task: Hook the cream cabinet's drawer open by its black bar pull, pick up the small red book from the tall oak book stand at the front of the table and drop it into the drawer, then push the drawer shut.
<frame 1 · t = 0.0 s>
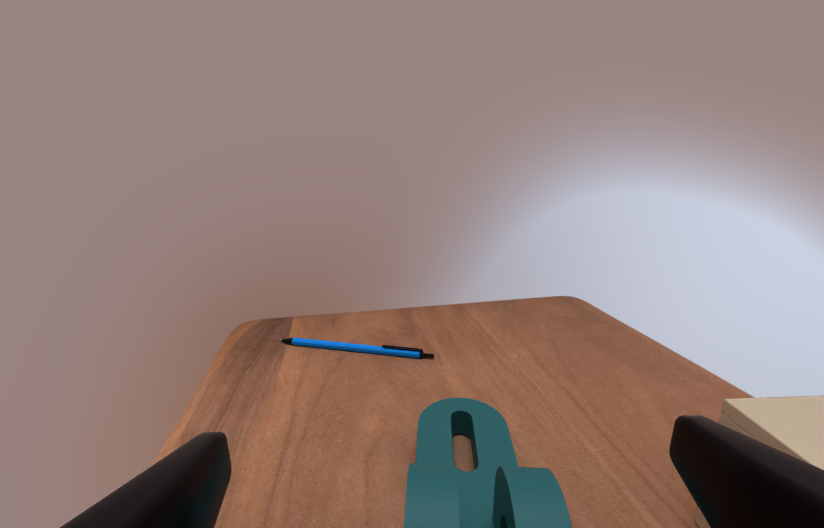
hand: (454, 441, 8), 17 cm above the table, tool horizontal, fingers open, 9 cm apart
bracket: (467, 517, 24), on the table
pen: (353, 352, 45), on the table
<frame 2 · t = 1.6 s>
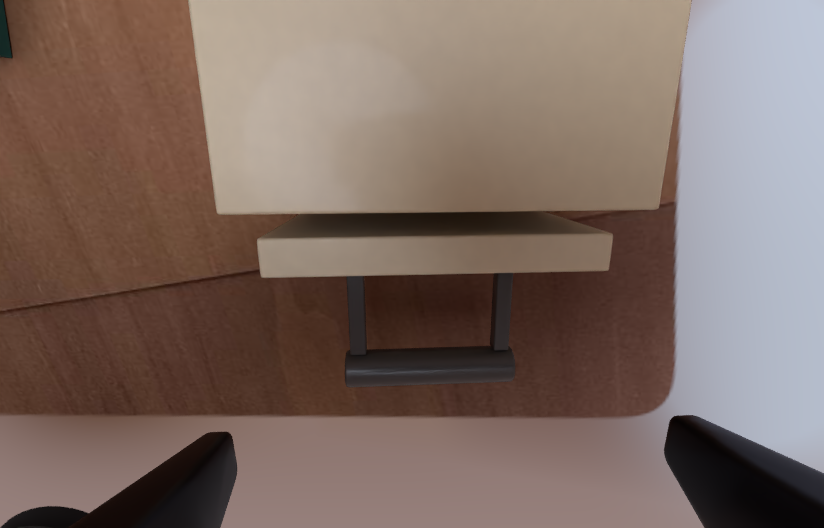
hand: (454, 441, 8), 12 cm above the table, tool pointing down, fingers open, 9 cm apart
cabinet: (419, 30, 17), on the table
drawer: (428, 150, 14), point 4 cm above the table, slide at 0.8 cm
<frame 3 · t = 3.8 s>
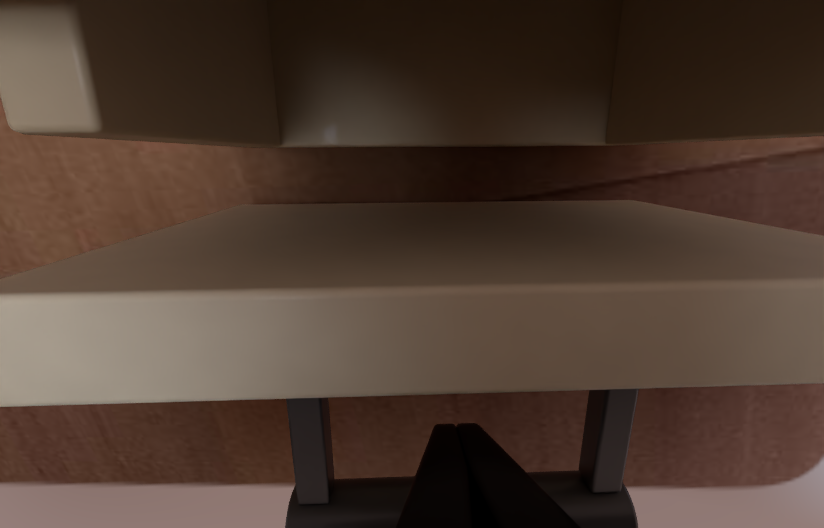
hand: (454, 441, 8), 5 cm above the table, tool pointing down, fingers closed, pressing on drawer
drawer: (463, 72, 6), point 4 cm above the table, slide at 2.3 cm, touching gripper
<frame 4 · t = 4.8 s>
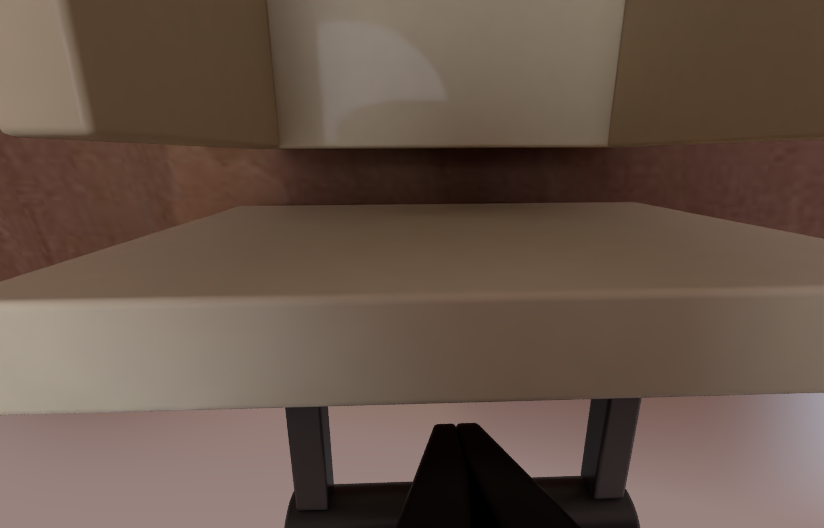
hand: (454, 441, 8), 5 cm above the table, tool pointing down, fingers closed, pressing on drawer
drawer: (464, 73, 6), point 4 cm above the table, slide at 7.3 cm, touching gripper
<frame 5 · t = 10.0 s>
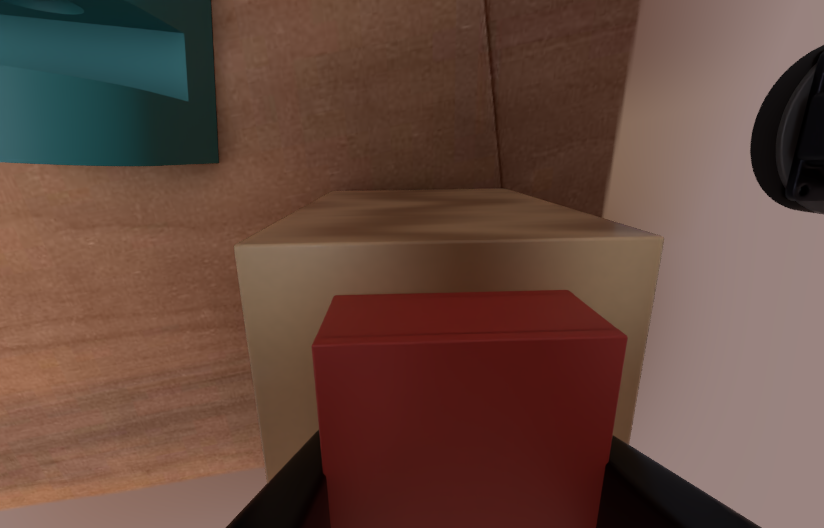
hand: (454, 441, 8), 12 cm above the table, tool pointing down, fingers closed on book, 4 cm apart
book: (449, 425, 8), point 11 cm above the table, touching gripper, stand
stand: (419, 272, 19), on the table
when the fingers open (6 cm above the table, at t = 15.4 s): book drops 4 cm, resting on drawer.
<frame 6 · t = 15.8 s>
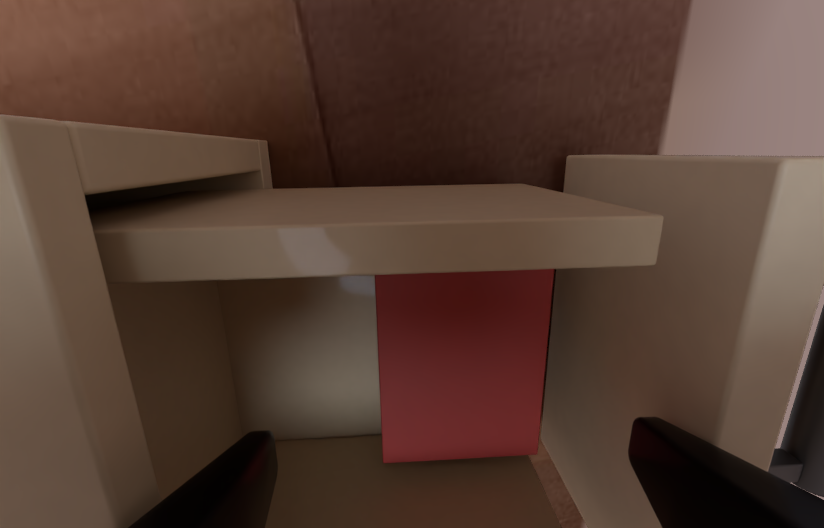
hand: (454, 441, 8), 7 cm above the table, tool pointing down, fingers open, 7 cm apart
book: (451, 333, 12), point 2 cm above the table, touching drawer
cabinet: (88, 319, 13), on the table
drawer: (510, 369, 10), point 4 cm above the table, slide at 9.3 cm, touching book, gripper
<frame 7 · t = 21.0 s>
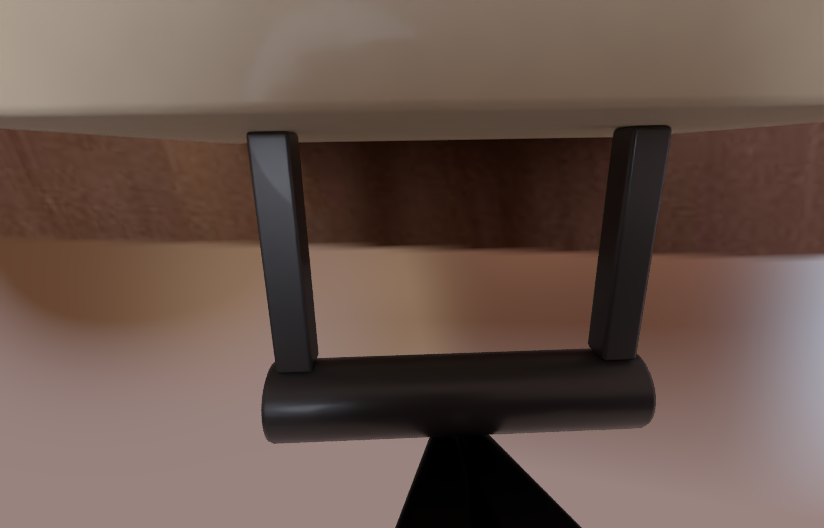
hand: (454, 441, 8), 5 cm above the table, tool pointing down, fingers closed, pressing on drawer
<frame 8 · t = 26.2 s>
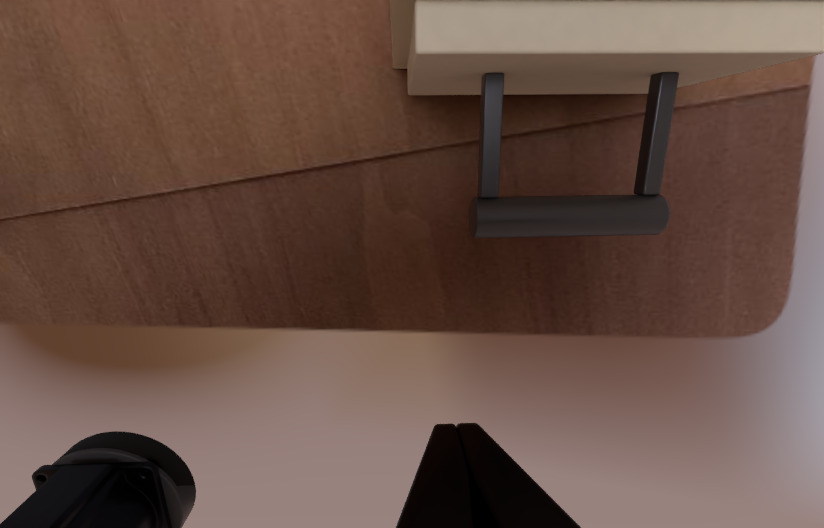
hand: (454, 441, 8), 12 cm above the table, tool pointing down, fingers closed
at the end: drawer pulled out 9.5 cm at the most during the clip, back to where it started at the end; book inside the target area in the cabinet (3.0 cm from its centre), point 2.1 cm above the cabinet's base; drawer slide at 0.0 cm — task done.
